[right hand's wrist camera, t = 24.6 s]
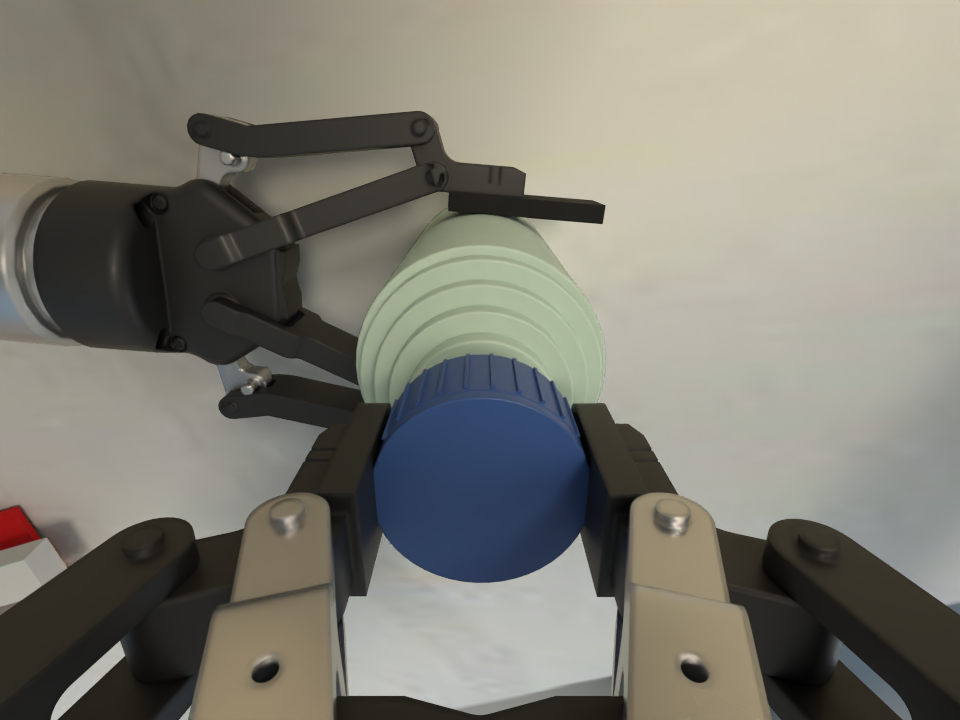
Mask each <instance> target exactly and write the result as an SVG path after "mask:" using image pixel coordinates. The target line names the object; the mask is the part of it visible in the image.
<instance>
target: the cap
mask: <svg viewBox="0 0 960 720" xmlns="http://www.w3.org/2000/svg"><path fill="white" fill-rule="evenodd" d="M381 439H382V440H383V441H382V444H381V447H380V450H379V453H378V456H377V459H376V462H375V465H374V470H373V472H374V484H375V496H376V507H377V518H378V524H379V526H380V528H381V530H382V531H383V533H384V535H385V536H386V538H387V539H388V540H389V541H390V543H391V544H392V545H393V546H394V547H395V548H396V549H397V550H398V551H399V552H400V553H401V554H402V555H403V556H404V557H406V558H407V559H408V560H410V561H411V562H412V563H414V564H416V565H417V566H419V567H421V568H423V569H424V570H426V571H429V572H431V573H433V574H436V575H439V576H442V577H445V578H448V579H453V580H458V581H463V582H474V583H490V582H499V581H505V580H510V579H515V578H518V577H521V576H524V575H527V574H530V573H532V572H534V571H536V570H539V569H541V568H542V567H544V566H546V565H547V564H549V563H551V562H552V561H553V560H555V559H556V558H557V557H559V556H560V555H561V554H562V553H563V552H564V551H565V550H566V549H567V548H568V547H569V546H570V545H571V544H572V543H573V542H574V540H575V539H576V538H577V536H578V535H579V533H580V531H581V530H582V528H583V526H584V524H585V517H586V506H587V495H588V484H589V472H590V468H589V464H588V461H587V458H586V454H585V451H584V449H583V446H582V443H581V440H580V433H579V431H578V428H577V425H576V422H575V420H574V417H573V414H572V411H571V408H570V406H569V403H568V400H567V398H566V397H564V398H563V396H562V395H561V393H560V392H559V391H558V389H557V388H556V386H555V383H554V381H553V380H552V381H549V380H548V379H547V378H546V377H545V376H544V375H542V374H541V373H540V372H538V370H537V368H535V367H534V368H532V367H530V366H528V365H526V364H524V363H522V362H519V361H517V359H516V358H513V359H511V358H507V357H502V356H496V355H494V354H493V353H490V355H487V354H480V355H470V354H466V356H460V357H456V358H453V359H449V360H447V359H444V360H443V362H441V363H439V364H436V365H435V366H433V367H431V368H429V369H424V370H423V372H422V374H420V375H419V376H418V377H416V378H415V379H414V380H413V381H412V382H411V383H409V382H408V383H407V384H406V387H405V390H404V392H403V393H402V394H401V396H400V397H399V399H398V400H396V399H395V401H394V404H393V406H392V409H391V412H390V415H389V418H388V421H387V424H386V427H385V430H384V432H383V435H382V438H381Z"/></svg>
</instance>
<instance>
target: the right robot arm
mask: <svg viewBox="0 0 960 720" xmlns="http://www.w3.org/2000/svg"><path fill="white" fill-rule="evenodd" d="M391 409H392V407H391V404H390V403H358V404H357V406H356V408H355V410H354V412H353V414H352V416H351V418H350V420H349V422H348V424H333V425H332V426H331V427H329V428H328V429H327V430H325V431H324V432H322V433H321V434H320V435H319V436H318V438H317V440H316V441H315V443H314V445H313V447H312V451H310V452H309V454H308V455H307V457H306V460H305V462H303V464H302V466H301V468H300V469H299V471H298V473H297V475H296V476H295V478H294V480H293V482H292V483H291V485H290V487H289V489H288V490H287V492H286V494H284V495H281V496H277V497H275V498H272V499H270V500H268V501H266V502H264V503H262V504H261V505H259V506H258V507H257V508H256V509H254V510H253V511H252V512H251V514H250V515H249V516H248V518H247V520H246V523H245V527H244V529H241V530H238V531H234V532H231V533H226V534H221V535H217V536H212V537H207V538H202V539H198V540H196V539H195V535H194V531H193V528H192V526H191V525H190V523H188V522H187V521H185V520H182V519H179V518H168V517H167V518H157V519H152V520H148V521H144V522H141V523H138V524H135V525H133V526H130V527H128V528H126V529H124V530H122V531H120V532H119V533H117V534H115V535H114V536H112V537H111V538H109V539H108V540H107V541H105V542H104V543H102V544H101V545H99V546H98V547H97V548H95V549H94V550H92V551H91V552H89V553H88V554H87V555H85V556H84V557H82V558H81V559H80V560H78V561H77V562H75V563H74V564H72V565H71V566H70V567H68V568H67V569H65V570H64V571H62V572H61V573H60V574H58V575H57V576H55V577H54V578H52V579H51V580H50V581H48V582H47V583H45V584H44V585H42V586H41V587H40V588H38V589H37V590H35V591H34V592H32V593H31V594H30V595H28V596H27V597H25V598H24V599H22V600H21V601H20V602H18V603H17V604H15V605H14V606H13V607H11V608H10V609H8V610H7V611H5V612H4V613H3V614H1V615H0V720H51V715H52V712H53V710H54V707H55V705H56V703H57V702H58V700H59V698H60V697H61V696H62V694H63V693H64V692H65V691H66V689H67V688H68V687H69V686H70V685H71V684H72V683H73V682H75V681H76V680H77V679H78V678H79V677H80V676H81V675H82V674H83V673H84V672H86V671H87V670H88V669H89V668H90V667H91V666H92V665H93V664H94V663H96V662H97V661H98V660H99V659H100V658H101V657H102V656H103V655H104V654H105V653H107V652H108V651H109V650H110V649H111V648H112V647H113V646H114V645H115V644H117V643H118V642H119V641H120V642H121V644H122V647H123V650H124V653H125V657H124V658H123V659H121V660H120V661H119V662H118V663H117V664H116V665H115V666H114V667H113V668H112V669H111V670H110V671H109V672H108V673H107V674H106V675H104V676H103V677H102V678H101V679H100V680H99V681H98V682H97V683H96V684H95V685H94V686H93V687H92V688H91V689H90V690H89V691H88V692H86V693H85V694H84V695H83V696H82V697H81V698H80V699H79V700H78V701H77V702H76V703H75V704H74V705H73V706H72V707H71V708H69V709H68V710H67V711H66V712H65V713H64V714H63V715H62V716H61V717H60V718H59V719H58V720H179V719H180V718H181V717H182V715H183V714H184V713H185V712H186V711H187V709H188V708H189V707H190V706H191V709H190V714H189V718H188V720H772V718H771V714H770V709H769V706H770V707H771V708H772V709H773V711H774V712H775V713H776V714H777V715H778V717H779V718H780V719H781V720H902V719H901V718H900V717H899V716H898V715H897V714H896V713H895V712H894V711H893V710H892V709H891V708H889V707H888V706H887V705H886V704H885V703H884V702H883V701H882V700H881V699H880V698H879V697H878V696H877V695H876V694H875V693H874V692H872V691H871V690H870V689H869V688H868V687H867V686H866V685H865V684H864V683H863V682H862V681H861V680H860V679H859V678H858V677H857V676H855V675H854V674H853V673H852V672H851V671H850V670H849V669H848V668H847V667H846V666H845V665H844V664H843V663H842V662H841V661H840V660H839V656H840V653H841V651H842V648H843V645H844V644H845V645H846V646H847V647H848V648H849V649H850V650H851V651H852V652H853V653H855V654H856V655H857V656H858V657H859V658H860V659H861V660H862V661H863V662H865V663H866V664H867V665H868V666H869V667H870V668H871V669H872V670H873V671H874V672H876V673H877V674H878V675H879V676H880V677H881V678H882V679H883V680H884V681H885V682H887V683H888V684H889V685H890V686H891V687H892V688H893V689H894V690H895V691H896V692H897V693H898V694H899V696H900V697H901V698H902V700H903V701H904V703H905V704H906V706H907V708H908V710H909V712H910V714H911V717H912V720H960V615H959V614H957V613H956V612H955V611H953V610H952V609H950V608H949V607H948V606H946V605H945V604H943V603H942V602H940V601H939V600H938V599H936V598H935V597H933V596H932V595H930V594H929V593H928V592H926V591H925V590H923V589H922V588H920V587H919V586H918V585H916V584H915V583H913V582H912V581H910V580H909V579H908V578H906V577H905V576H903V575H902V574H900V573H899V572H898V571H896V570H895V569H893V568H892V567H890V566H889V565H888V564H886V563H885V562H883V561H882V560H881V559H879V558H878V557H876V556H875V555H873V554H872V553H871V552H869V551H868V550H866V549H865V548H863V547H862V546H861V545H859V544H858V543H856V542H855V541H853V540H852V539H851V538H849V537H847V536H846V535H844V534H843V533H841V532H839V531H837V530H835V529H833V528H831V527H828V526H826V525H823V524H820V523H817V522H813V521H808V520H802V519H785V520H781V521H778V522H776V523H774V524H773V525H772V526H771V527H770V529H769V532H768V536H767V540H763V539H758V538H754V537H749V536H744V535H740V534H735V533H731V532H727V531H724V530H721V529H718V528H716V527H715V523H714V520H713V518H712V516H711V515H710V514H709V512H708V511H707V510H706V509H704V508H703V507H702V506H701V505H699V504H698V503H696V502H694V501H692V500H690V499H688V498H685V497H683V496H679V495H678V493H677V492H676V490H675V488H674V487H673V485H672V483H671V481H670V480H669V478H668V476H667V474H666V473H665V471H664V469H663V468H662V466H661V464H660V462H658V459H657V457H656V456H655V454H654V452H653V451H651V447H650V445H649V443H648V442H647V440H646V438H645V437H644V435H643V434H641V433H640V432H639V431H637V430H636V429H634V428H633V427H632V426H630V425H629V424H615V422H614V420H613V418H612V416H611V414H610V412H609V410H608V408H607V406H606V405H605V404H604V403H573V404H572V406H571V411H572V414H573V417H574V420H575V422H576V425H577V428H578V431H579V433H580V440H581V443H582V446H583V449H584V451H585V454H586V458H587V461H588V464H589V468H590V472H589V484H588V495H587V506H586V517H585V524H584V526H583V528H582V530H581V531H580V534H581V537H582V541H583V545H584V549H585V553H586V556H587V560H588V564H589V568H590V572H591V575H592V579H593V583H594V587H595V591H596V594H597V597H615V600H616V603H617V607H618V608H617V616H616V624H615V638H614V655H613V672H612V690H611V696H554V697H551V698H547V699H543V700H539V701H536V702H532V703H528V704H525V705H521V706H517V707H513V708H510V709H506V710H502V711H499V712H495V713H491V714H487V715H473V714H469V713H465V712H462V711H458V710H454V709H450V708H447V707H443V706H439V705H436V704H432V703H428V702H424V701H421V700H417V699H413V698H410V697H406V696H349V689H348V673H347V656H346V639H345V624H344V616H343V614H344V612H345V608H346V605H347V602H348V598H349V596H366V595H367V591H368V587H369V583H370V580H371V576H372V572H373V568H374V564H375V560H376V556H377V552H378V548H379V544H380V540H381V537H382V533H383V531H382V530H381V528H380V526H379V524H378V518H377V507H376V496H375V484H374V472H373V470H374V465H375V462H376V459H377V456H378V453H379V450H380V447H381V444H382V441H383V440H382V439H381V438H382V435H383V432H384V430H385V427H386V424H387V421H388V418H389V415H390V412H391Z"/></svg>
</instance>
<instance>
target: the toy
mask: <svg viewBox="0 0 960 720" xmlns="http://www.w3.org/2000/svg"><path fill="white" fill-rule="evenodd" d="M65 569H67V567H66V565H65V564H64V562H63V561H62V559H61V558H60V556H59V555H58V553H57V552H56V550H55V549H54V547H53V546H52V544H51V543H50V542H49V540H48V539H47V537H46V538H43V539H41V538H40V537H39V535H38V534H37V532H36V531H35V530H34V528H33V527H32V525H31V524H30V523H29V521H28V520H27V519H26V517H25V516H24V514H23V513H22V512H21V510H20V509H19V507H18V506H16V507H12V508H9V509H6V510H3V511H0V615H1V614H3V613H4V612H5V611H7V610H8V609H10V608H11V607H13V606H14V605H15V604H17V603H18V602H20V601H21V600H22V599H24V598H25V597H27V596H28V595H30V594H31V593H32V592H34V591H35V590H37V589H38V588H40V587H41V586H42V585H44V584H45V583H47V582H48V581H50V580H51V579H52V578H54V577H55V576H57V575H58V574H60V573H61V572H62V571H64V570H65Z"/></svg>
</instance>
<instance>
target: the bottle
mask: <svg viewBox="0 0 960 720" xmlns="http://www.w3.org/2000/svg"><path fill="white" fill-rule="evenodd" d="M490 353H493V354H494V355H496V356H502V357H507V358H511V359H513V358H516V359H517V361H519V362H522V363H524V364H526V365H528V366H530V367H532V368H534V367H535V368H537V370H538V372H540V373H541V374H542V375H544V376H545V377H546V378H547V379H548V380H549V381H552V380H553V381H554V383H555V386H556V388H557V389H558V391H559V392H560V393H561V395H562V396H563V398H564V397H566V398H567V400H568V403H569V406H570V408H571V406H572V404H573V403H597V401H598V399H599V396H600V393H601V390H602V386H603V381H604V377H605V366H606V354H605V343H604V338H603V334H602V329H601V327H600V324H599V321H598V319H597V316H596V314H595V312H594V310H593V308H592V307H591V305H590V303H589V301H588V300H587V298H586V297H585V295H584V294H583V293H582V291H581V290H580V289H579V287H578V286H577V285H576V283H575V282H574V280H573V279H572V278H571V276H570V275H569V274H568V272H567V271H566V270H565V268H564V267H563V265H562V264H561V263H560V261H559V260H558V259H557V257H556V256H555V255H554V253H553V252H552V250H551V249H550V248H549V246H548V245H547V244H546V242H545V241H544V239H543V238H542V237H541V235H540V234H539V233H538V231H537V230H536V229H535V227H534V226H533V225H532V223H531V222H530V221H529V220H528V219H527V218H524V217H512V216H500V215H488V214H475V213H463V212H451V211H448V208H447V209H445V210H444V211H442V212H440V213H439V214H438V215H437V216H436V217H435V218H434V219H433V220H432V221H431V222H430V223H429V224H428V225H427V227H426V228H425V230H424V231H423V232H422V234H421V235H420V237H419V238H418V239H417V241H416V242H415V244H414V245H413V246H412V248H411V249H410V251H409V252H408V253H407V255H406V256H405V258H404V259H403V260H402V262H401V263H400V265H399V266H398V267H397V269H396V270H395V271H394V273H393V274H392V276H391V277H390V278H389V280H388V281H387V283H386V284H385V285H384V287H383V288H382V290H381V291H380V292H379V294H378V295H377V297H376V298H375V300H374V301H373V303H372V304H371V306H370V308H369V310H368V312H367V314H366V316H365V318H364V320H363V324H362V327H361V330H360V333H359V337H358V343H357V350H356V370H357V378H358V383H359V387H360V390H361V394H362V397H363V399H364V402H365V403H390V404H391V407H392V406H393V404H394V401H395V399H396V400H398V399H399V397H400V396H401V394H402V393H403V392H404V390H405V387H406V384H407V383H408V382H409V383H411V382H412V381H413V380H414V379H415V378H416V377H418V376H419V375H420V374H422V372H423V370H424V369H429V368H431V367H433V366H435V365H436V364H439V363H441V362H443V360H444V359H447V360H449V359H453V358H456V357H460V356H466V354H470V355H480V354H487V355H490Z"/></svg>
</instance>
